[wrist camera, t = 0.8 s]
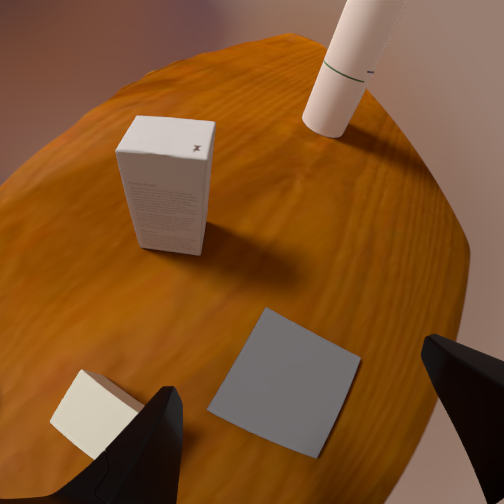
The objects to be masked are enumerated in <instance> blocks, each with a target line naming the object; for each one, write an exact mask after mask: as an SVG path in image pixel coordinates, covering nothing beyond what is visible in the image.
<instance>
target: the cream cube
mask: <svg viewBox="0 0 504 504" xmlns="http://www.w3.org/2000/svg"><path fill="white" fill-rule="evenodd" d="M143 407H144V405H143V404H142V403H140V402H139V401H137V400H136V399H134V398H133V397H131V396H130V395H129V394H127V393H126V392H124V391H123V390H122V389H120V388H119V387H118V386H116V385H115V384H114V383H112V382H111V381H110V380H108V379H107V378H106V377H105V376H103V375H100V374H97V373H93V372H90V371H86V370H83V369H81V370H80V372H79V373H78V375H77V377H76V378H75V380H74V381H73V383H72V385H71V386H70V388H69V390H68V391H67V393H66V394H65V396H64V398H63V399H62V401H61V403H60V404H59V406H58V408H57V410H56V411H55V413H54V415H53V417H52V418H51V420H50V423H51V424H52V425H53V426H54V427H55V428H57V429H58V430H59V431H60V432H61V433H62V434H63V435H64V436H66V437H67V438H68V439H69V440H70V441H71V442H73V443H74V444H75V445H76V446H77V447H79V448H80V449H81V450H82V451H84V452H85V453H86V454H87V455H89V456H90V457H91V458H93V459H94V460H95V459H96V458H97V457H98V456H99V455H100V454H101V453H102V452H103V451H104V450H105V448H106V447H107V446H108V445H109V444H110V443H111V442H112V441H113V440H114V439H115V438H116V437H117V436H118V435H119V433H120V432H121V431H122V430H123V429H124V428H125V427H126V426H127V425H128V424H129V423H130V422H131V420H132V419H133V418H134V417H135V416H136V415H137V414H138V413H139V412H140V411H141V410H142V408H143Z"/></svg>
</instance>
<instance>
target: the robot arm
mask: <svg viewBox="0 0 504 504" xmlns="http://www.w3.org/2000/svg"><path fill="white" fill-rule="evenodd" d="M421 358H422V361H423V363H424V365H425V368H426V370H427V372H428V375H429V377H430V379H431V382H432V384H433V386H434V389H435V391H436V393H437V395H438V396H439V398H440V400H441V402H442V404H443V406H444V408H445V410H446V411H447V413H448V415H449V417H450V419H451V421H452V423H453V425H454V427H455V429H456V431H457V433H458V435H459V437H460V439H461V442H462V444H463V446H464V448H465V450H466V452H467V455H468V457H469V459H470V461H471V464H472V466H473V468H474V471H475V473H476V476H477V478H478V481H479V483H480V486H481V488H482V491H483V493H484V496H485V498H486V501H487V504H496V503H498V502H499V501H500V500H502V499H503V498H504V361H502V360H499V359H497V358H494V357H492V356H489V355H487V354H484V353H482V352H479V351H477V350H474V349H472V348H469V347H467V346H464V345H462V344H459V343H457V342H455V341H452V340H450V339H447V338H445V337H442V336H440V335H437V334H432V335H429V336H427V337H425V339H424V343H423V347H422V351H421ZM182 445H183V404H182V401H181V399H180V396H179V394H178V392H177V390H176V388H175V387H174V386H163V387H162V388H161V389H160V390H159V391H158V392H157V393H156V394H155V395H154V396H153V397H152V399H151V400H150V401H149V402H148V403H147V404H146V405H145V406H144V407H143V408H142V410H141V411H140V412H139V413H138V414H137V415H136V416H135V417H134V418H133V419H132V420H131V422H130V423H129V424H128V425H127V426H126V427H125V428H124V429H123V430H122V431H121V432H120V433H119V435H118V436H117V437H116V438H115V439H114V440H113V441H112V442H111V443H110V444H109V445H108V446H107V447H106V448H105V450H104V451H103V452H102V453H101V454H100V455H99V456H98V457H97V458H96V459H95V460H94V461H93V462H92V463H91V464H90V465H89V466H88V467H86V468H85V469H84V470H83V471H82V472H81V473H80V474H78V475H77V476H76V477H75V478H73V479H72V480H71V481H70V482H68V483H67V484H66V485H65V486H63V487H62V488H61V489H60V490H58V491H57V492H55V493H53V494H51V495H48V496H43V497H34V498H20V499H0V504H176V502H177V491H178V481H179V472H180V463H181V454H182Z"/></svg>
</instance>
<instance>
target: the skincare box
mask: <svg viewBox="0 0 504 504" xmlns="http://www.w3.org/2000/svg"><path fill="white" fill-rule="evenodd" d="M215 129H216V123H215V122H212V121H202V120H191V119H180V118H169V117H152V116H136V118H135V120H134V121H133V123H132V125H131V126H130V128H129V129H128V131H127V132H126V134H125V136H124V137H123V139H122V141H121V142H120V144H119V146H118V147H117V149H116V156H117V161H118V165H119V169H120V173H121V178H122V182H123V186H124V190H125V194H126V198H127V202H128V206H129V209H130V213H131V217H132V221H133V224H134V228H135V232H136V235H137V238H138V242H139V245H140V247H141V248H148V249H155V250H162V251H170V252H177V253H184V254H191V255H198V256H200V255H201V251H202V245H203V239H204V233H205V226H206V220H207V208H208V196H209V185H210V175H211V165H212V155H213V146H214V137H215Z"/></svg>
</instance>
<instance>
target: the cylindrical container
mask: <svg viewBox="0 0 504 504" xmlns="http://www.w3.org/2000/svg"><path fill="white" fill-rule="evenodd" d="M406 4H407V3H405V2H404V1H402V0H347V2H346V5H345V7H344V10H343V12H342V15H341V17H340V20H339V23H338V25H337V28H336V31H335V33H334V35H333V38H332V41H331V43H330V46H329V48H328V51H327V54H326V56H325V59H324V61H323V64H322V67H321V69H320V72H319V74H318V77H317V79H316V82H315V85H314V87H313V90H312V92H311V95H310V98H309V100H308V103H307V105H306V108H305V111H304V113H303V116H302V119H303V122H304V123H305V124H306V126H308V127H309V128H310V129H311V130H313V131H314V132H316V133H318V134H320V135H323V136H326V137H331V138H337V137H340V136H342V135H343V133H344V131H345V129H346V127H347V125H348V123H349V121H350V119H351V117H352V115H353V113H354V111H355V109H356V107H357V105H358V104H359V102H360V100H361V98H362V96H363V94H364V92H365V90H366V88H367V86H368V84H369V82H370V80H371V77H372V75H373V73H374V71H375V69H376V67H377V65H378V63H379V61H380V59H381V57H382V55H383V53H384V51H385V49H386V47H387V45H388V43H389V41H390V38H391V37H392V34H393V32H394V30H395V28H396V26H397V24H398V22H399V20H400V18H401V15H402V13H403V11H404V9H405V7H406Z"/></svg>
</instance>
